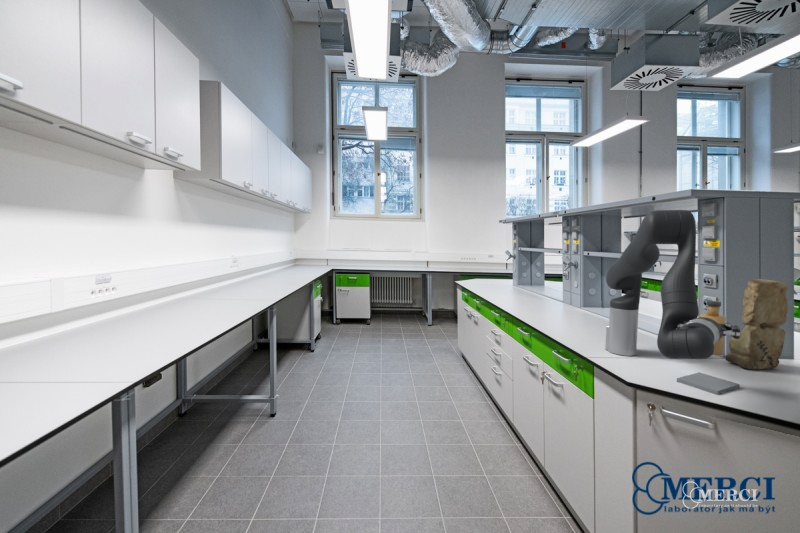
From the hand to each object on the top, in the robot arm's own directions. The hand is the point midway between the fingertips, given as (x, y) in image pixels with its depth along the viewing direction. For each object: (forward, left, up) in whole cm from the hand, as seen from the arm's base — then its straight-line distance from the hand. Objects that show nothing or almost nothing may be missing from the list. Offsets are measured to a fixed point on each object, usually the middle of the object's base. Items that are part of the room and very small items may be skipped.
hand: (713, 324), depth 105 cm
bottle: (+1, -3, -8) cm, 8 cm away
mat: (+1, -3, -18) cm, 18 cm away
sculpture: (-1, +29, -18) cm, 35 cm away
